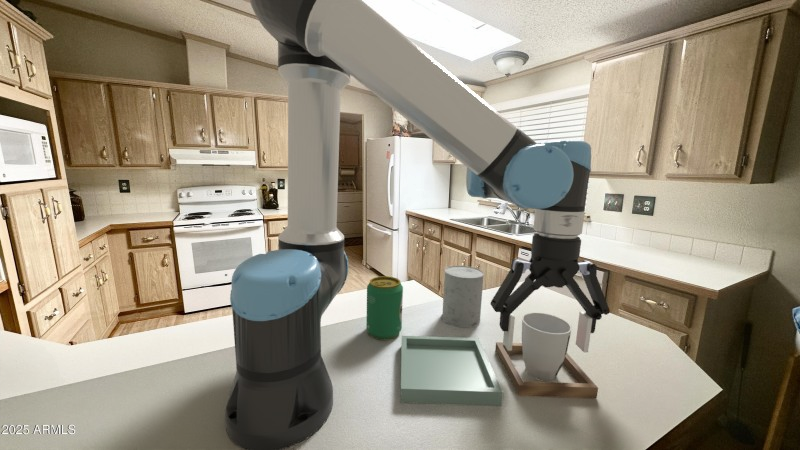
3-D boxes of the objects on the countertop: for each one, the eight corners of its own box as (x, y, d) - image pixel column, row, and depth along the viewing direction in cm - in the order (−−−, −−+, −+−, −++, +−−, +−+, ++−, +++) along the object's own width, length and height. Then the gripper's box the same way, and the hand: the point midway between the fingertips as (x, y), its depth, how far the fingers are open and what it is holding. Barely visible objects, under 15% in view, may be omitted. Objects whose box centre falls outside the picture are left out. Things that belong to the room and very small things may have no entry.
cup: (571, 390, 53) (578, 336, 52) (521, 383, 55) (526, 330, 53) (557, 362, 61) (563, 315, 60) (514, 356, 63) (518, 310, 61)
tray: (400, 402, 49) (401, 388, 49) (401, 346, 65) (401, 335, 65) (501, 406, 49) (502, 392, 49) (477, 349, 65) (478, 338, 65)
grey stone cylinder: (484, 328, 74) (488, 278, 72) (444, 326, 74) (447, 277, 72) (475, 310, 84) (478, 266, 81) (439, 309, 84) (442, 265, 82)
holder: (518, 395, 52) (519, 385, 51) (495, 351, 65) (496, 342, 64) (596, 398, 52) (598, 387, 51) (558, 353, 64) (559, 344, 64)
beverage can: (404, 339, 68) (405, 287, 66) (367, 341, 67) (368, 288, 65) (398, 322, 76) (400, 275, 74) (365, 323, 74) (366, 275, 72)
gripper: (490, 237, 50) (481, 357, 54) (646, 240, 50) (627, 361, 53) (478, 228, 57) (472, 335, 61) (614, 231, 57) (599, 338, 61)
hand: (544, 347), depth 57 cm, fingers open, 13 cm apart
